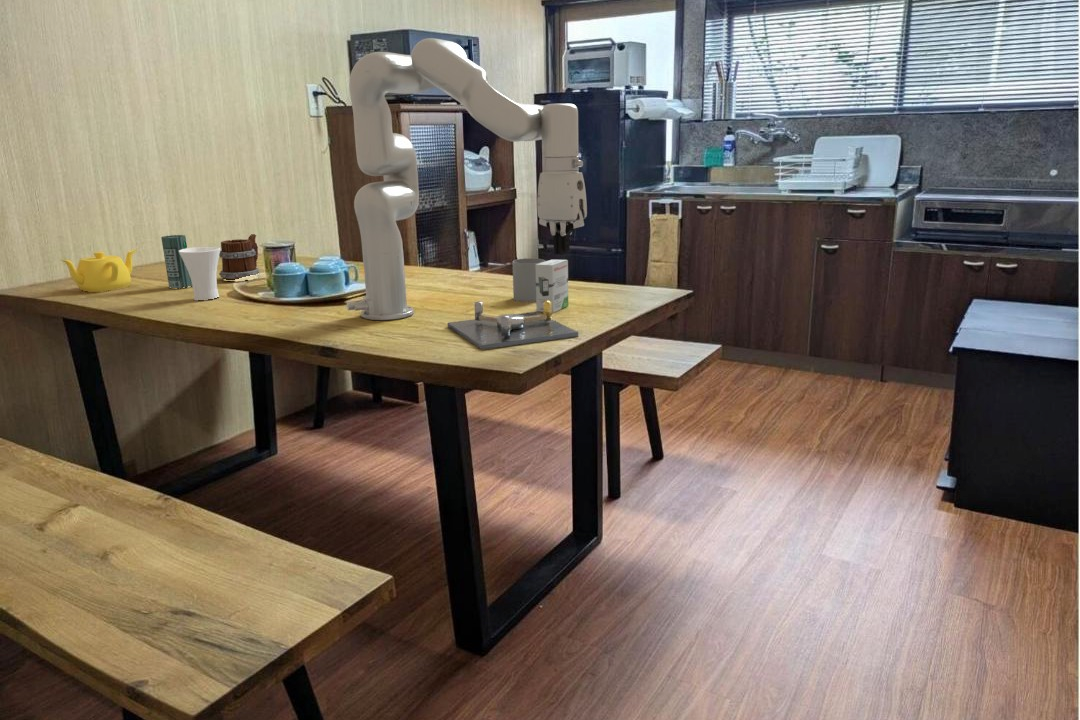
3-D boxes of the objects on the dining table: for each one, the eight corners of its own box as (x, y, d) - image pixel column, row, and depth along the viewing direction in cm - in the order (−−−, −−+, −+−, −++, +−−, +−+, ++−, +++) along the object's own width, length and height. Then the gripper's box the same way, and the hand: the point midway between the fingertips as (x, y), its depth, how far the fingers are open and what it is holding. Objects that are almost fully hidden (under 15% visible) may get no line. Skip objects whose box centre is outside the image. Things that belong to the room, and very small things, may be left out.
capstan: (503, 337, 163) (502, 315, 162) (474, 320, 178) (473, 300, 177) (568, 328, 169) (568, 307, 168) (535, 313, 184) (534, 293, 183)
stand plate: (482, 349, 159) (482, 344, 159) (447, 326, 178) (447, 321, 178) (578, 336, 168) (578, 330, 167) (535, 315, 187) (535, 310, 187)
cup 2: (541, 302, 202) (541, 263, 199) (510, 301, 203) (509, 263, 200) (547, 295, 209) (547, 258, 207) (518, 295, 211) (517, 258, 208)
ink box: (552, 304, 199) (551, 258, 196) (569, 306, 196) (569, 259, 193) (535, 311, 192) (534, 263, 188) (553, 313, 189) (552, 264, 186)
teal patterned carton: (196, 285, 234) (189, 235, 229) (183, 289, 228) (175, 237, 224) (179, 285, 235) (171, 234, 231) (165, 288, 229) (157, 237, 225)
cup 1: (221, 293, 222) (215, 245, 218) (231, 299, 213) (224, 249, 210) (182, 298, 216) (174, 249, 212) (190, 304, 208) (182, 253, 204)
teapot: (82, 298, 219) (74, 259, 216) (56, 292, 228) (48, 255, 225) (157, 285, 236) (151, 249, 233) (130, 280, 245) (125, 245, 242)
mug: (209, 281, 238) (208, 231, 236) (240, 281, 252) (240, 233, 250) (241, 283, 235) (241, 232, 233) (271, 282, 248) (271, 234, 246)
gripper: (600, 165, 162) (600, 253, 167) (541, 164, 170) (543, 249, 175) (581, 167, 156) (581, 258, 161) (520, 166, 164) (523, 253, 169)
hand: (561, 253), depth 168 cm, fingers closed
